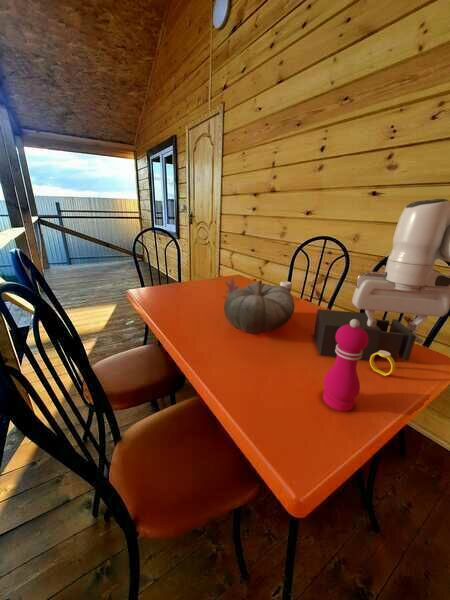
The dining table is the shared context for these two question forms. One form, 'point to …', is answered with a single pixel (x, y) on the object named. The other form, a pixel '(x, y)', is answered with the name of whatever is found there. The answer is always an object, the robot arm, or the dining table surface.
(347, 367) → the pepper mill
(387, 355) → the watch
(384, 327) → the drawer
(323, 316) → the cabinet
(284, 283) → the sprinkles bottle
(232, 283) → the lily
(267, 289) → the gourd
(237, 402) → the dining table surface
